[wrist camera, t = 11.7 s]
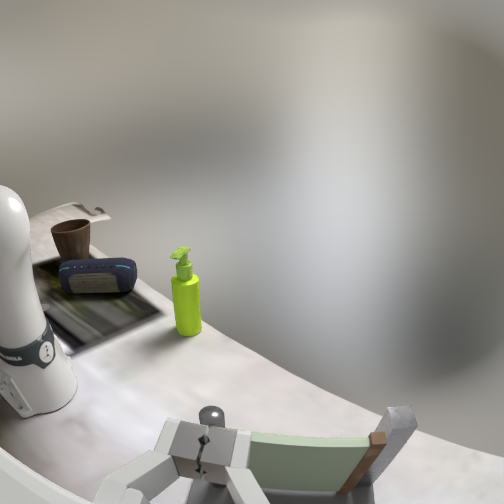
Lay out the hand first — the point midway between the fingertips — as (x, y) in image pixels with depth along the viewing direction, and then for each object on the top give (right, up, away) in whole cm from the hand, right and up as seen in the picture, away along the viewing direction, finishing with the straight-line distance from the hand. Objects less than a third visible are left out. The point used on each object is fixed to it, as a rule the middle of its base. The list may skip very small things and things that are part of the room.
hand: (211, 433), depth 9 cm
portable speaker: (-44, -5, +71) cm, 83 cm away
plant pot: (-61, +1, +84) cm, 103 cm away
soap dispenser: (-13, -12, +57) cm, 60 cm away
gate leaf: (+7, -25, +20) cm, 33 cm away
